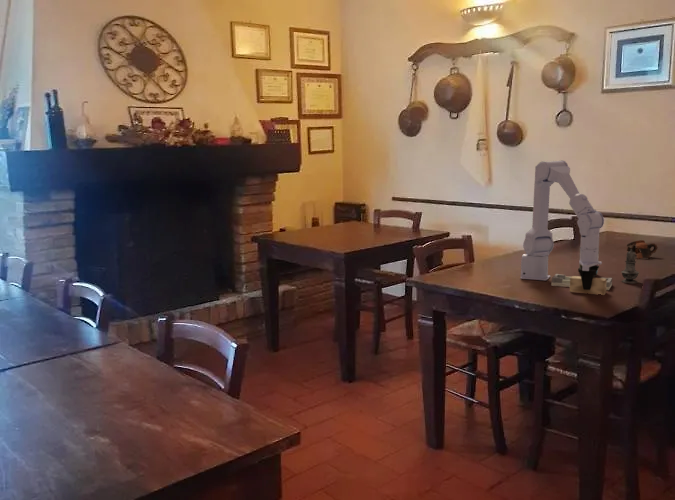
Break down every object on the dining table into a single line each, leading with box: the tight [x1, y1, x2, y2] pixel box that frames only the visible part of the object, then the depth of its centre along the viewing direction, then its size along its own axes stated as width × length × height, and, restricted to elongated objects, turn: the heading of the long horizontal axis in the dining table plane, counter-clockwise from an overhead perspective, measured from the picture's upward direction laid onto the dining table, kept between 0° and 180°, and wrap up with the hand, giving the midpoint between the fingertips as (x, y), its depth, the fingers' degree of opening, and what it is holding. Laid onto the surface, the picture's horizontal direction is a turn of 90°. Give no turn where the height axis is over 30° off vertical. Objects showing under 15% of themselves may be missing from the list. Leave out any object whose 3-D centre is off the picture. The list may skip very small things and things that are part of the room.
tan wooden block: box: [569, 275, 607, 296], centre depth 226 cm, size 11×4×5 cm, turn 60°
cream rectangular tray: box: [550, 273, 613, 291], centre depth 237 cm, size 19×9×3 cm, turn 62°
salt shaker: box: [620, 249, 640, 284], centre depth 240 cm, size 6×6×12 cm
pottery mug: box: [626, 239, 658, 260], centre depth 286 cm, size 12×10×8 cm
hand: (587, 288), depth 226 cm, fingers open, 4 cm apart
